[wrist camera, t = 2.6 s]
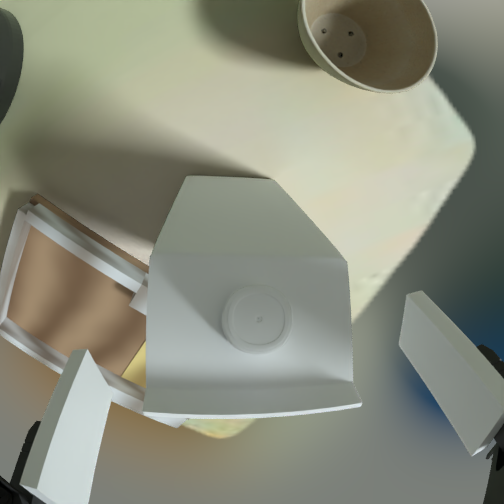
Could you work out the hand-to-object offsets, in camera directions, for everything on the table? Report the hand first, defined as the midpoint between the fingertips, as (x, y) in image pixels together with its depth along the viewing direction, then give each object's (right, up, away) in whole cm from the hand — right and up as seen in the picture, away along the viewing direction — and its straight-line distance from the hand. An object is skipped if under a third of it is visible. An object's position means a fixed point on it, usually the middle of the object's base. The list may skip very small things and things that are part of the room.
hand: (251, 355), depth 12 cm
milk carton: (-2, +7, +14) cm, 16 cm away
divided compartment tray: (-13, -4, +17) cm, 22 cm away
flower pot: (+7, +21, +9) cm, 24 cm away
